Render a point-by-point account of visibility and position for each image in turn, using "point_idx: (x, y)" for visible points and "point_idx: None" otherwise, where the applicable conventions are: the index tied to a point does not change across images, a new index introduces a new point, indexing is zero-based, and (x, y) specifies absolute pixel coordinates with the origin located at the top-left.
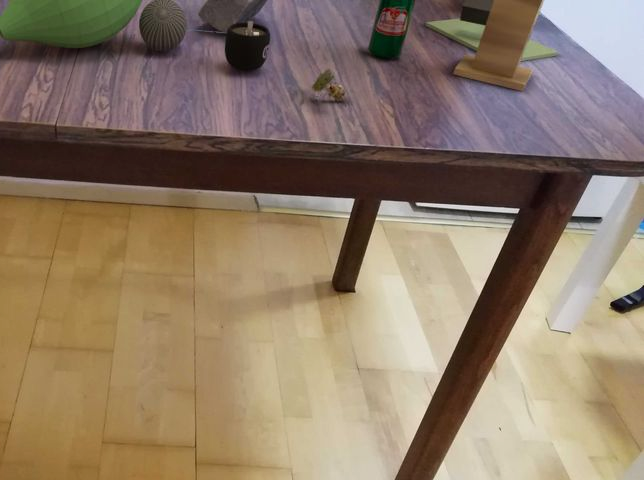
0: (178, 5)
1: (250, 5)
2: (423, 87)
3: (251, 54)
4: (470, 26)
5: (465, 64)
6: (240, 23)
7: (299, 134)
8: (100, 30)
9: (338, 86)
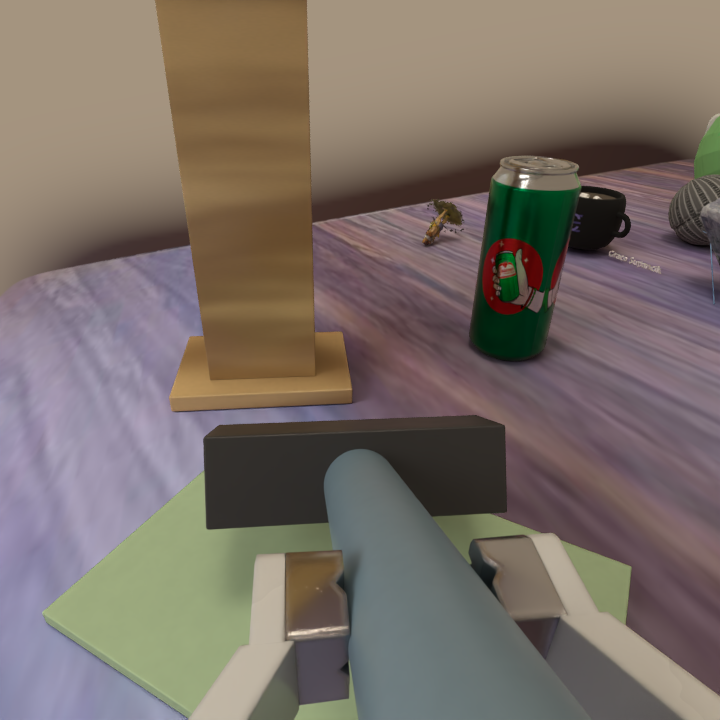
0: (713, 187)
1: (717, 231)
2: (363, 297)
3: None
4: None
5: (330, 349)
6: (621, 196)
7: (410, 211)
8: None
9: (433, 223)
